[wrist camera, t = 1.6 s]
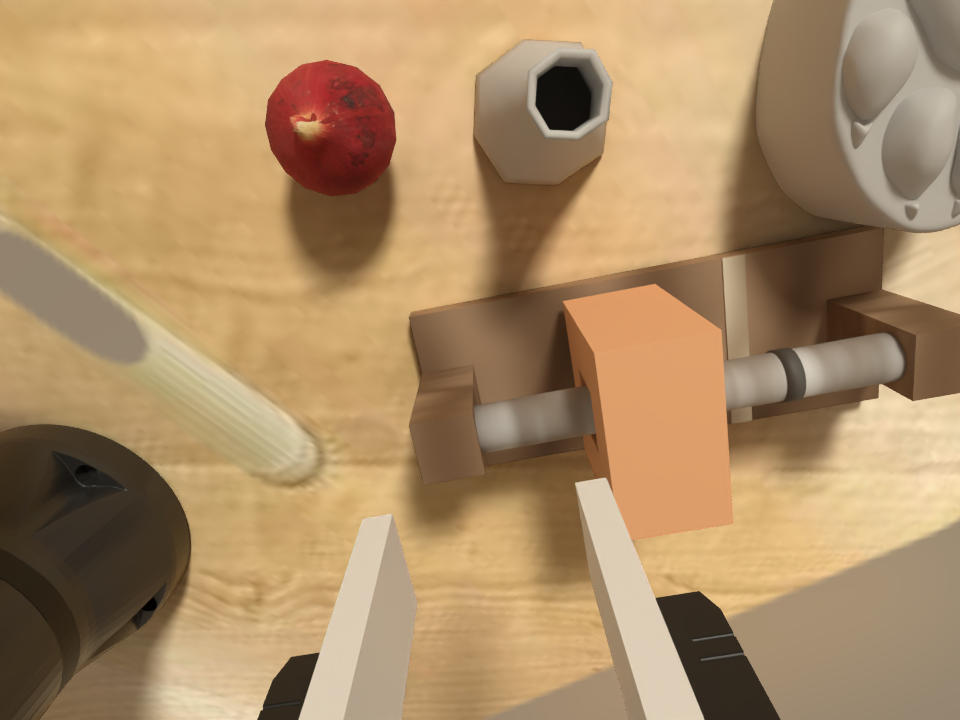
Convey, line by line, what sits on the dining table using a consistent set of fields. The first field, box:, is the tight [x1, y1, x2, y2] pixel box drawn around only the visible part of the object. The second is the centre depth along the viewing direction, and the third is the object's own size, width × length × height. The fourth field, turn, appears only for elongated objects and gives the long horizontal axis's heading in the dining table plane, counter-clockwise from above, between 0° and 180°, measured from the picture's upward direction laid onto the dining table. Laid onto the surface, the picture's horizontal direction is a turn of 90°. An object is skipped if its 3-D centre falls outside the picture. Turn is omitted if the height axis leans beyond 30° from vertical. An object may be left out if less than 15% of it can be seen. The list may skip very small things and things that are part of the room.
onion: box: [265, 60, 396, 196], centre depth 27 cm, size 6×6×8 cm
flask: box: [474, 39, 613, 185], centre depth 26 cm, size 7×7×10 cm
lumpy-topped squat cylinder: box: [755, 0, 960, 233], centre depth 26 cm, size 10×13×9 cm
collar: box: [563, 284, 733, 540], centre depth 29 cm, size 5×9×9 cm, turn 11°
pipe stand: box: [409, 226, 960, 485], centre depth 31 cm, size 26×10×8 cm, turn 101°
